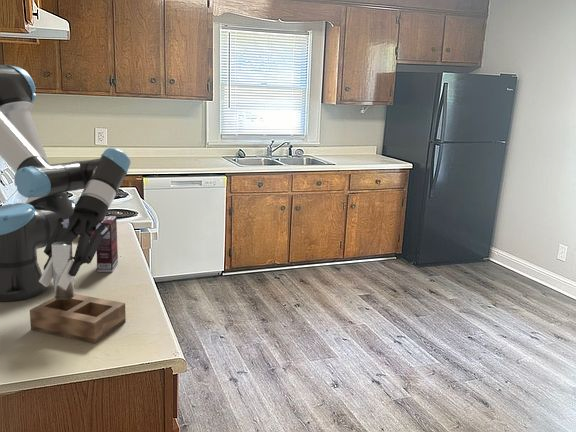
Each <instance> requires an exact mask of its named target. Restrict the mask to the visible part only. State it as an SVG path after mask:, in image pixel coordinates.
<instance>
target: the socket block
mask: <svg viewBox="0 0 576 432" xmlns="http://www.w3.org/2000/svg"><path fill="white" fill-rule="evenodd" d="M29 319H30V321H29V322H30V330H31V331H34V332H40V333H45V334H49V335H53V336H58V337H63V338H66V339H67V338H68V339H73V340H77V341H83V342H86V343H91V344H97V343H98V342H100V341H101V340H102V339H104V338H105V337H106V336H108V335H109V334H111V333H112V332H114V331H115V330H116V329H118V328H119V327H121V326H122V325H124V324H125V323H126V319H127V318H126V303H125V302H121V301H117V300H110V299H104V298H100V297H94V296H88V295H83V294H79V293H78V294H77V293H74V297H73V298H71V299H67V300H57V299H55V298H54V297H52V298H50V299H48V300H46V301H45V302H43V303H41V304H38V305H36V306H35V307H33V308H31V309H29Z"/></svg>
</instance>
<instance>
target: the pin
mask: <svg viewBox="0 0 576 432" xmlns="http://www.w3.org/2000/svg"><path fill="white" fill-rule="evenodd" d="M51 246H52V264H53V278H52V281H53V296H54V297H53V298H55V299H57V300H67V299H71V298H73V297H74V294H75V281H74V279H75V277H74V276H73V277H72V279H71V281H70V283H69V285H68V287H67V289H66V290H63V289H62V288H60V287H59V286H58V285H57V284H58V282H59V280H60V278H61V276H62V274H63V272H64V270H65V268H66V266H67V264H68V262H69V260H73V261H74V259H73V258H72V257H74V256H73V243H71V242H56V243H53V244H52V245H51Z"/></svg>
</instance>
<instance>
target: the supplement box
mask: <svg viewBox="0 0 576 432" xmlns="http://www.w3.org/2000/svg"><path fill="white" fill-rule="evenodd" d="M101 224H104V225H105V226H106V227H107V228H108V230H109V232H108V233H107V234H106V235H105V236H104V237H103V239H102V241H101V243H100V245H99V247H98V249H97V251H96V267H97V268H96V270H97V273H113V272H114V270H115V269H116V267H117V266H118V264H119V255H118V250H119V249H118V227H117V216H115V215H113V216H112V215H106V216H105V218H104V220H103V221H102V222H101Z"/></svg>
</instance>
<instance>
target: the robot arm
mask: <svg viewBox="0 0 576 432" xmlns="http://www.w3.org/2000/svg"><path fill="white" fill-rule="evenodd" d="M36 92H37V89H36V85H35V83H34V80H33V78H32V77H31V75H30V74H29V73H28V71H26V70H25V69H23V68H22V67H19V66H15V65H14V66H13V65H10V64H0V158H2V159H3V160H4V162H5V163H6V164H7V165H8V166H9V167H10V168H11V169H12V170H13V172H14V180H13V181H14V185H15V187H16V190H17V192H18V194H20V196H22V197H24V198H27V200H26V202H25V203H24V202H23V203H22V202H21V203H20V202H18V203H17V202H16V203H13V204H12V203H10V204H5V205H0V302H16V301H22V300H26V299H31V298H34V297H36V296H38V295H41V294H42V293H44V291H45V290H46V289H47V288H48V287H49V286H50V283H51V281H53V264H52V246H51V245H52V244H53V243H56V242H71V243H72V242H73V241H74V240H76V239H78V242H77V244H76V245H77V246H76V249H75V253H74V256H73V257H72V258H73V260H69V262H68V264H67V266H66V268H65V270H64V272H63V274H62V276H61V278H60V280H59V282H58V284H57V285H58V286H59V287H60V288H62V289H63V290H66V289H67V287H68V285H69V283H70V281H71V279H72V277H73V276H74V278H75V277H76V276H77V274H78V272H79V271H80V268H81V266H82V265H83V264H87V265H89V264H91V263H92V261H93V258H94V256H95V255H96V254H97V249H98V247H99V245H100V243H101V241H102V239H103V237H104V236H105V235H106V234H107V233H108V232H109V230H108V228H107V227H106V226H105V225H104V224H101V222H102V221H103V220H104V218H105V216H107V214H108V211H109V208H110V207H111V205H112V203H113V201H114V199H115V198H116V195H117V193H118V191H119V189H120V188H121V185H122V184H123V182H124V179H125V177H126V175H127V174H128V171H129V168H130V165H131V159H130V157H129V155H127V154H126V153H125V152H124V151H122V150H121V149H118V148H115V147H114V148H113V147H108V148H106V149H105V150H104V151H103V153H102V154H101V155H100V157H99V158H94V159H88V160H76V161H70V162H62V163H50V160H49V158H48V157H47V154H46V151H45V149H44V146H43V143H42V141H41V138H40V136H39V133H38V130H37V128H36V127H37V126H36V125H35V123H34V122H35V121H33V117H32V114H31V111H32V109H33V107H34V104H33V103H34V102H35V99H36V98H37V97H36ZM79 190H82V192H81V196H79V198H78V200H77V201H76V200H74V199H70V198H69V196H68V192H73V191H74V192H75V191H79ZM94 231H95V232H94ZM93 232H94V234H93V236H92V233H93ZM78 237H79V238H78ZM72 244H73V243H72ZM42 248H44V249H43V253H44V254H45V255H46V256H47V257H48V258H47V260H46V262H45V264H44V266H43V270H44V271H43V272H42V270H41V267H40V264H39V263H38V254H37V253H38V252H37V250H39V249H42Z"/></svg>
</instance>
